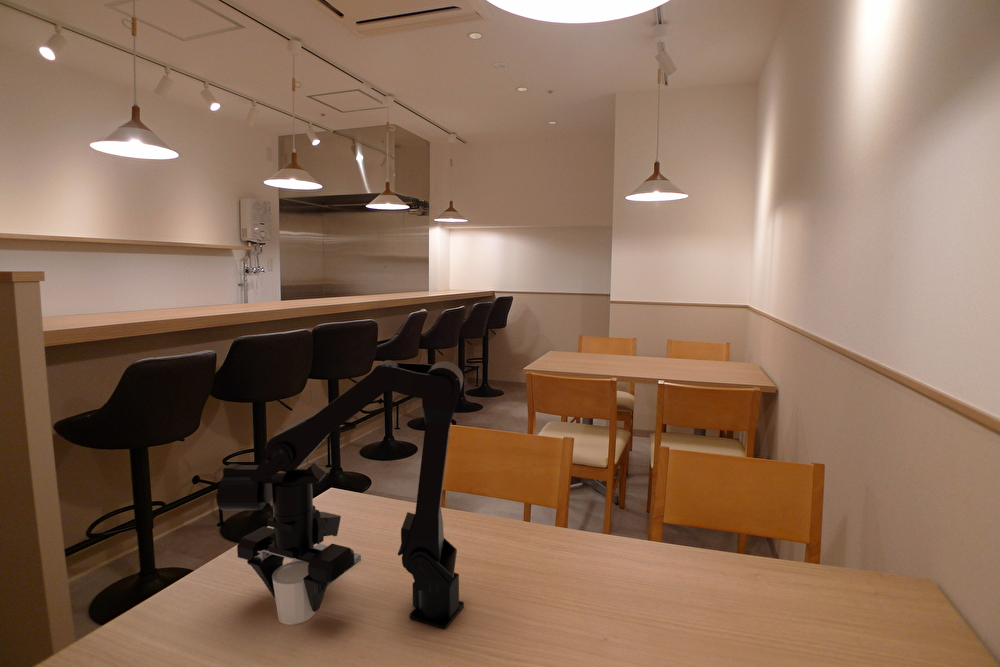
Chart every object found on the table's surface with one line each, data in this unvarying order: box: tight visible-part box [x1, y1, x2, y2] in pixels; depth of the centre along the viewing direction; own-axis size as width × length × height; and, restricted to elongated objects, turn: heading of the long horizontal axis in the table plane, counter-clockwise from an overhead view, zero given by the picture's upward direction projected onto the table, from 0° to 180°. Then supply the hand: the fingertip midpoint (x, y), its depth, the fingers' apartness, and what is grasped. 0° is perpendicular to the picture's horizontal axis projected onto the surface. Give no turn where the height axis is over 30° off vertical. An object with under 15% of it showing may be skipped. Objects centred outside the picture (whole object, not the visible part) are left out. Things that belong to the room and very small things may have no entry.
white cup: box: [272, 561, 316, 626], centre depth 84 cm, size 7×7×7 cm
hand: (297, 604), depth 84 cm, fingers open, 7 cm apart
